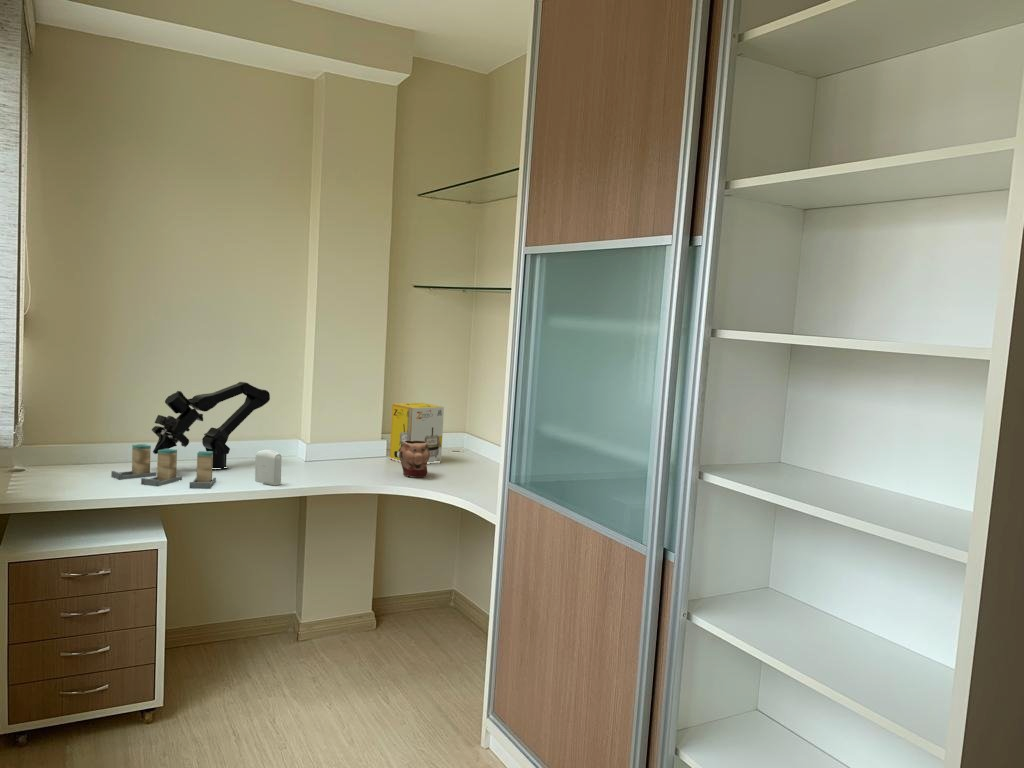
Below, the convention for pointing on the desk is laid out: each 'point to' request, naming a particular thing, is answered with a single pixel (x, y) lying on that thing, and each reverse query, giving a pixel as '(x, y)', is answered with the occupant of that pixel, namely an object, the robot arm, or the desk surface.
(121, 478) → the slate track
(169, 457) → the oak key
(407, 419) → the packaging box
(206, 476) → the oak key
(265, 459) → the photo printer
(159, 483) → the slate track
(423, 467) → the decorative planter
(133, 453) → the oak key
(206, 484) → the slate track
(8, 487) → the desk surface
